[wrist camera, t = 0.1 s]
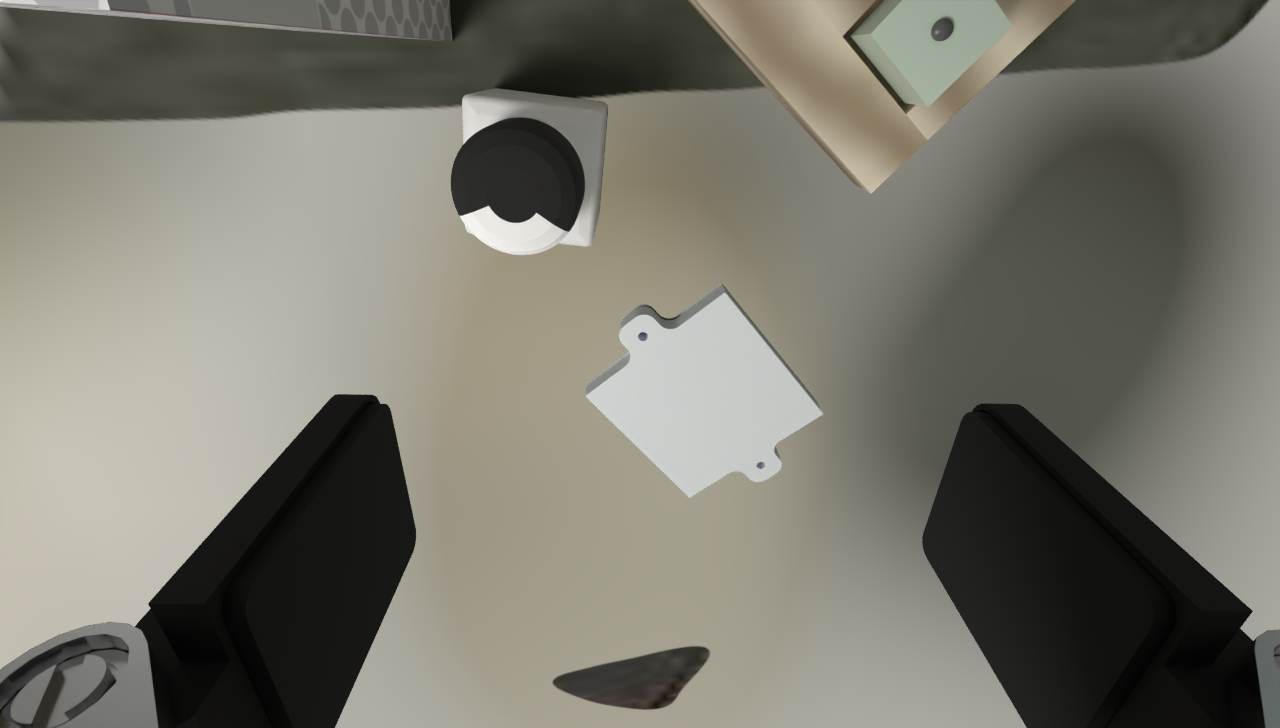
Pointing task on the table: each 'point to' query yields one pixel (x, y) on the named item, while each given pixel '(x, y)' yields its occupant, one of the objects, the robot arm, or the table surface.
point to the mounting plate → (702, 392)
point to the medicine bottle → (530, 169)
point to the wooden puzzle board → (855, 74)
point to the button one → (928, 42)
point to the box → (279, 14)
